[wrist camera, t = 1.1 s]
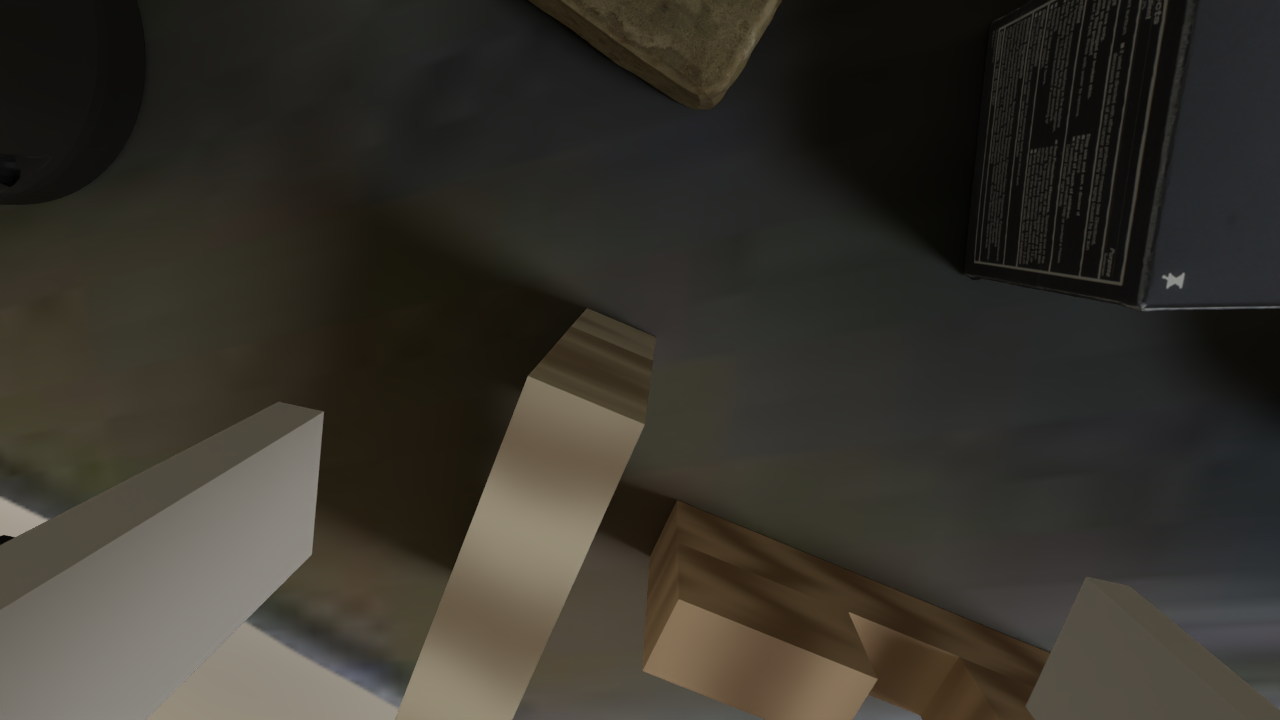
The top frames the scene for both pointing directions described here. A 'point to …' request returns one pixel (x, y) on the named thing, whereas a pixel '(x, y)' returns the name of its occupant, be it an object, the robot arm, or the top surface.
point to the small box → (1132, 153)
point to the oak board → (815, 634)
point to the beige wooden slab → (534, 522)
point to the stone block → (672, 40)
